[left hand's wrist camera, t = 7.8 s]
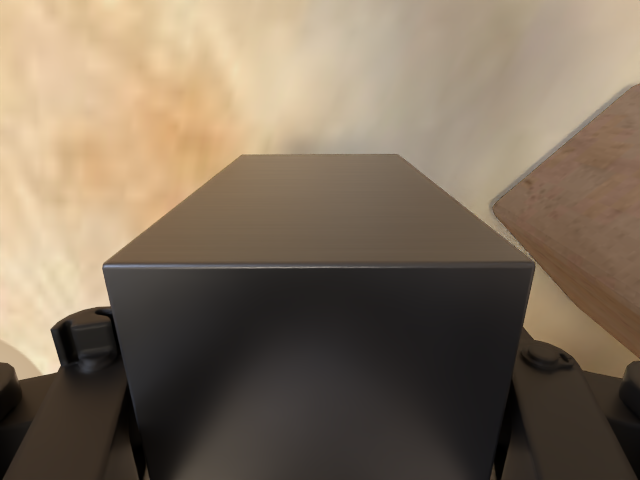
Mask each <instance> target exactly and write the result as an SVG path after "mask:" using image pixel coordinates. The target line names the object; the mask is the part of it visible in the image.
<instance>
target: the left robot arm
mask: <svg viewBox="0 0 640 480" xmlns="http://www.w3.org/2000/svg"><path fill="white" fill-rule="evenodd" d="M51 333H52V337H53V340H54V343H55V347H56V350H57V354H58V357H59V360H60V364H61V366H60V368H59V370H58V372H57V373H53V374H48V375H43V376H38V377H34V378H28V379H23V380H18V378H17V375H16V372H15V369H14V368H13V367H12V366H11V365H9V364H8V363H1V362H0V480H150V478H149V474H148V470H147V465H146V461H145V456H144V452H143V447H142V443H141V438H140V434H139V429H138V425H137V421H136V416H135V412H134V407H133V403H132V398H131V394H130V389H129V385H128V381H127V376H126V372H125V367H124V363H123V358H122V354H121V349H120V345H119V340H118V336H117V332H116V327H115V323H114V318H113V314H112V309H111V306H110V307H95V308H91V309H86V310H82V311H79V312H77V313H74V314H71V315H69V316H67V317H66V318H64V319H62V320H60V321H59V322H57V323H56V324H55V325H54V326H53V327H52V329H51ZM490 480H640V361H634V362H632V363H631V364H629V365H628V366H627V368H626V371H625V373H624V376H623V379H621V378H616V377H611V376H606V375H601V374H596V373H591V372H587V371H583V370H581V368H580V366H579V364H578V363H577V362H576V361H575V359H574V358H573V357H572V356H571V355H569V354H568V353H566V352H565V351H563V350H562V349H560V348H558V347H555V346H553V345H551V344H549V343H545V342H541V341H537V340H534V339H533V338H532V337H531V336H530V335H529V333H528V332H527V331H526V330H525V329H524V328H523V327H522V332H521V337H520V341H519V346H518V351H517V356H516V360H515V365H514V370H513V374H512V379H511V384H510V388H509V393H508V398H507V402H506V407H505V412H504V416H503V421H502V426H501V431H500V435H499V440H498V445H497V449H496V454H495V459H494V463H493V468H492V473H491V477H490Z"/></svg>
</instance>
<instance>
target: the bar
mask: <svg viewBox="0 0 640 480" xmlns="http://www.w3.org/2000/svg"><path fill="white" fill-rule="evenodd" d="M102 269H103V274H104V278H105V283H106V287H107V291H108V296H109V300H110V305H111V309H112V314H113V318H114V323H115V327H116V332H117V336H118V340H119V345H120V349H121V354H122V358H123V363H124V367H125V372H126V376H127V381H128V385H129V389H130V394H131V398H132V403H133V407H134V412H135V416H136V421H137V425H138V429H139V434H140V438H141V443H142V447H143V452H144V456H145V461H146V465H147V470H148V474H149V478H150V480H490V477H491V473H492V468H493V463H494V459H495V454H496V449H497V445H498V440H499V435H500V431H501V426H502V421H503V416H504V412H505V407H506V402H507V398H508V393H509V388H510V384H511V379H512V374H513V370H514V365H515V360H516V356H517V351H518V346H519V341H520V337H521V332H522V327H523V323H524V318H525V313H526V309H527V304H528V299H529V295H530V290H531V285H532V281H533V276H534V271H535V263H534V261H532V260H531V259H530V258H529V257H527V256H526V255H525V254H523V253H522V252H521V251H520V250H518V249H517V248H516V247H515V246H513V245H512V244H511V243H510V242H508V241H507V240H506V239H504V238H503V237H502V236H501V235H499V234H498V233H497V232H496V231H494V230H493V229H492V228H491V227H489V226H488V225H487V224H486V223H484V222H483V221H482V220H480V219H479V218H478V217H477V216H475V215H474V214H473V213H472V212H470V211H469V210H468V209H467V208H465V207H464V206H463V205H462V204H460V203H459V202H458V201H456V200H455V199H454V198H453V197H451V196H450V195H449V194H448V193H446V192H445V191H444V190H443V189H441V188H440V187H439V186H437V185H436V184H435V183H434V182H432V181H431V180H430V179H429V178H427V177H426V176H425V175H424V174H422V173H421V172H420V171H419V170H417V169H416V168H415V167H413V166H412V165H411V164H410V163H408V162H407V161H406V160H405V159H403V158H402V157H401V156H400V155H398V154H305V155H241V156H240V157H238V158H237V159H236V160H234V161H233V162H232V163H231V164H229V165H228V166H227V167H226V168H224V169H223V170H222V171H220V172H219V173H218V174H217V175H215V176H214V177H213V178H212V179H210V180H209V181H208V182H206V183H205V184H204V185H203V186H201V187H200V188H199V189H198V190H196V191H195V192H194V193H192V194H191V195H190V196H189V197H187V198H186V199H185V200H183V201H182V202H181V203H180V204H178V205H177V206H176V207H175V208H173V209H172V210H171V211H169V212H168V213H167V214H166V215H164V216H163V217H162V218H161V219H159V220H158V221H157V222H155V223H154V224H153V225H152V226H150V227H149V228H148V229H147V230H145V231H144V232H143V233H141V234H140V235H139V236H138V237H136V238H135V239H134V240H133V241H131V242H130V243H129V244H127V245H126V246H125V247H124V248H122V249H121V250H120V251H119V252H117V253H116V254H115V255H113V256H112V257H111V258H110V259H108V260H107V261H106V262H105V263H104V264H103V268H102Z"/></svg>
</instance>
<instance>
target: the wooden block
mask: <svg viewBox="0 0 640 480" xmlns="http://www.w3.org/2000/svg"><path fill="white" fill-rule="evenodd" d="M493 211H494V214H495V216H496V217H497V218H498V219H499V220H500V221H501V222H502V223H503V224H504V226H505V227H506V228H507V229H508V230H509V231H510V232H511V233H512V234H513V236H514V237H515V238H516V239H517V240H518V241H519V242H520V243H521V244H522V246H523V247H524V248H525V249H526V250H527V251H528V252H529V253H530V254H531V256H532V257H533V258H534V259H535V260H536V261H537V262H538V263H539V264H540V266H541V267H542V268H543V269H544V270H545V271H546V272H547V273H548V274H549V276H550V277H551V278H552V279H553V280H554V281H555V282H556V283H557V284H558V286H559V287H560V288H561V289H562V290H563V291H564V292H565V293H566V294H567V296H568V297H569V298H570V299H571V300H572V301H573V302H574V303H575V304H576V306H577V307H579V308H580V309H581V310H582V311H583V312H585V313H586V314H587V315H588V316H589V317H591V318H592V319H593V320H594V321H595V322H597V323H598V324H599V325H600V326H601V327H603V328H604V329H605V330H606V331H607V332H609V333H610V334H611V335H612V336H613V337H615V338H616V339H617V340H618V341H619V342H621V343H622V344H623V345H624V346H625V347H627V348H628V349H629V350H630V351H631V352H633V353H634V354H635V355H636V356H637V357H639V358H640V84H638V85H635V86H633V87H632V88H630V89H629V90H628V91H627V92H626V93H624V94H623V95H622V96H621V97H620V98H618V99H617V100H616V101H615V102H614V103H613V104H611V105H610V106H609V107H608V108H607V109H606V110H604V111H603V112H602V113H601V114H600V115H598V116H597V117H596V118H595V119H594V120H593V121H591V122H590V123H589V124H588V125H587V126H586V127H584V128H583V129H582V130H581V131H580V132H578V133H577V134H576V135H575V136H574V137H573V138H571V139H570V140H569V141H568V142H567V143H566V144H564V145H563V146H562V147H561V148H560V149H558V150H557V151H556V152H555V153H554V154H553V155H551V156H550V157H549V158H548V159H547V160H546V161H544V162H543V163H542V164H541V165H540V166H538V167H537V168H536V169H535V170H534V171H533V172H531V173H530V174H529V175H528V176H527V177H525V178H524V179H523V180H522V181H521V182H520V183H518V184H517V185H516V186H515V187H514V188H513V189H511V190H510V191H509V192H508V193H507V194H505V195H504V196H503V197H502V198H501V199H500V200H498V201H497V202H496V203H495V204H494V206H493Z"/></svg>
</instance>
